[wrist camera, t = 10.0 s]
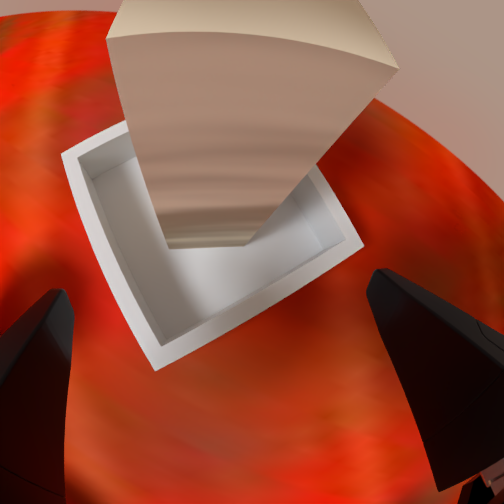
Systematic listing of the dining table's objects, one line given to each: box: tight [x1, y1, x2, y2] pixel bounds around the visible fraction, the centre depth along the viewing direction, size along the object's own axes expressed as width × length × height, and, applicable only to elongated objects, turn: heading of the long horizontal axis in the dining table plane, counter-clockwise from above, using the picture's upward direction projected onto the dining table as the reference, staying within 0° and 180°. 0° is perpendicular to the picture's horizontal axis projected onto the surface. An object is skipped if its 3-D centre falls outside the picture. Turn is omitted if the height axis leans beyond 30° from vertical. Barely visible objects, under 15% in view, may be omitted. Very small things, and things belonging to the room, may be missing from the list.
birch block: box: [106, 0, 399, 249], centre depth 9 cm, size 4×4×13 cm
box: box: [61, 120, 364, 371], centre depth 15 cm, size 12×12×4 cm
